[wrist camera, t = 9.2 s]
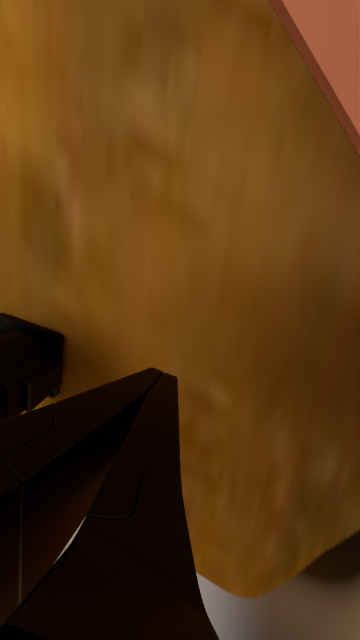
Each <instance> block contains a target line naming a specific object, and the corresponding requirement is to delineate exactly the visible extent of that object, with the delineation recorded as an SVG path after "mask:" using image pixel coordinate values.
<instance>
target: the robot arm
mask: <svg viewBox="0 0 360 640" xmlns="http://www.w3.org/2000/svg"><path fill="white" fill-rule="evenodd" d="M56 338H57V339H58V340H57V339H56ZM63 345H64V338H63V336H62V335H61V334H60V333H57V332H54V331H51V330H49V329H46V328H43V327H40V326H37V325H34V324H31V323H28V322H25V321H23V320H20V319H17V318H14V317H11V316H8V315H5V314H2V313H0V640H219V638H218V636H217V634H216V632H215V630H214V628H213V626H212V624H211V622H210V620H209V617H208V615H207V613H206V610H205V607H204V604H203V601H202V598H201V593H200V589H199V585H198V580H197V576H196V570H195V565H194V559H193V554H192V548H191V543H190V537H189V532H188V526H187V521H186V515H185V509H184V502H183V495H182V484H181V468H180V442H179V410H178V379H177V377H176V376H173V375H170V374H168V373H164V372H163V371H160V370H158V369H155V368H148V369H146V370H143V371H140V372H137V373H135V374H132V375H129V376H126V377H124V378H121V379H118V380H115V381H113V382H110V383H107V384H105V385H102V386H99V387H96V388H94V389H91V390H88V391H85V392H83V393H80V394H77V395H75V396H72V397H69V398H66V399H64V400H61V401H58V402H56V404H54V403H52V404H50V405H47V406H44V407H41V408H39V409H36V410H33V409H34V408H35V407H36V406H37V405H38V404H39V403H41V402H42V401H43V400H44V399H45V398H46V397H47V396H48V397H51V398H55V397H56V396H57V395H58V394H59V389H60V385H61V380H62V370H63V359H62V356H63ZM53 392H54V393H53ZM31 410H33V411H31ZM24 411H26V412H27V413H24V414H21V413H22V412H24ZM29 411H30V412H29ZM20 414H21V415H20ZM85 517H86V518H85ZM84 518H85V519H84ZM83 520H84V521H83ZM82 521H83V523H82ZM81 523H82V525H81V527H80V529H79V530H78V532H77V534H76V536H75V537H74V539H73V541H72V542H71V544H70V545H69V547H68V548H67V549H66V550H65V552H64V553H63V554H62V555H61V556H60V557H59V555H60V553H61V552H62V551H63V549H64V548H65V546H66V545H67V543H68V542H69V540H70V539H71V537H72V536H73V534H74V533H75V531H76V530H77V528H78V527H79V525H80V524H81ZM58 557H59V559H58V560H57V558H58ZM56 560H57V561H56ZM55 561H56V562H55ZM53 564H54V565H53Z"/></svg>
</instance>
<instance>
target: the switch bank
mask: <svg viewBox="0 0 360 640" xmlns="http://www.w3.org/2000/svg"><path fill="white" fill-rule="evenodd" d="M269 1H270V2H271V4H272V6H273V8H274V9H275V11H276V13H277V14H278V16H279V18H280V20H281V21H282V23H283V25H284V26H285V28H286V30H287V32H288V33H289V35H290V37H291V39H292V40H293V42H294V44H295V45H296V47H297V49H298V51H299V52H300V54H301V56H302V57H303V59H304V61H305V63H306V64H307V66H308V68H309V69H310V71H311V73H312V75H313V76H314V78H315V80H316V81H317V83H318V85H319V87H320V88H321V90H322V92H323V93H324V95H325V97H326V99H327V100H328V102H329V104H330V105H331V107H332V109H333V111H334V112H335V114H336V116H337V118H338V119H339V121H340V123H341V124H342V126H343V128H344V130H345V131H346V133H347V135H348V136H349V138H350V140H351V142H352V143H353V145H354V147H355V148H356V150H357V152H358V154H359V155H360V0H269Z"/></svg>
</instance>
